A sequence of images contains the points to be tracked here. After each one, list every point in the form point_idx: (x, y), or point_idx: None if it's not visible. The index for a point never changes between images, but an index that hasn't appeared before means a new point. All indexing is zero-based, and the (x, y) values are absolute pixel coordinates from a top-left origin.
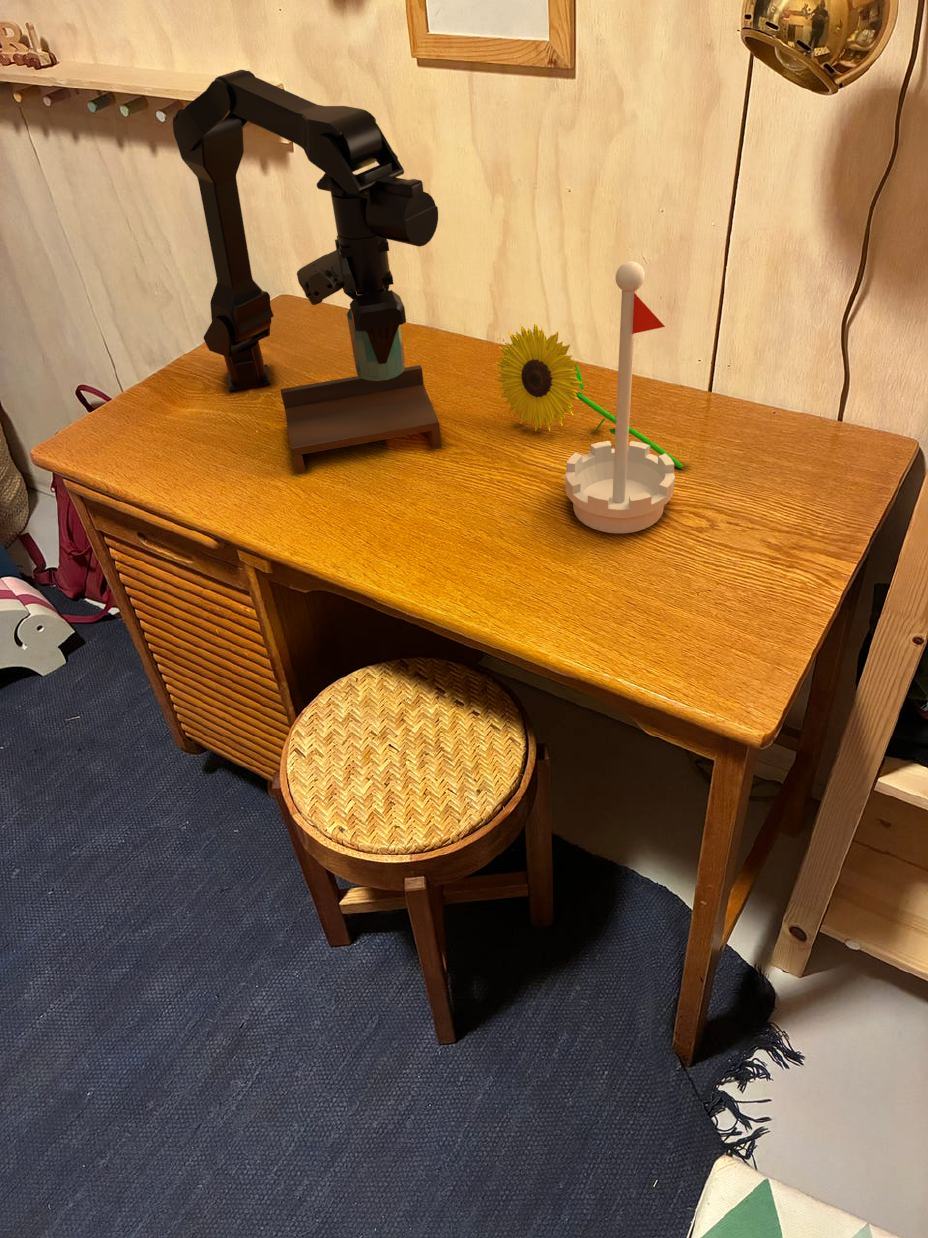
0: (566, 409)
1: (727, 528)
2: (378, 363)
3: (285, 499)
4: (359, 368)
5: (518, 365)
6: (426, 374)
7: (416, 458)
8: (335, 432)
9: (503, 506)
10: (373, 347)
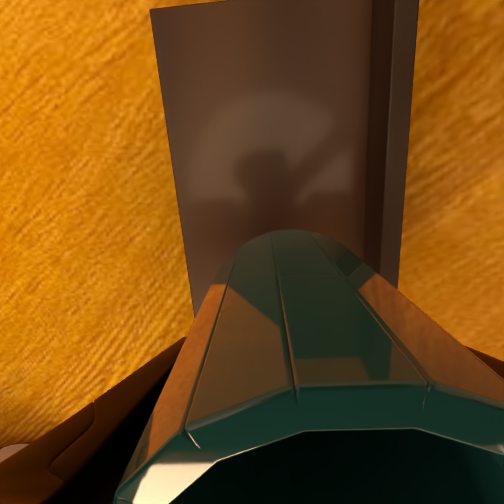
0: None
1: None
2: (183, 337)
3: (84, 18)
4: (243, 251)
5: None
6: (470, 331)
7: (185, 281)
8: (203, 137)
9: (43, 375)
10: (113, 390)
